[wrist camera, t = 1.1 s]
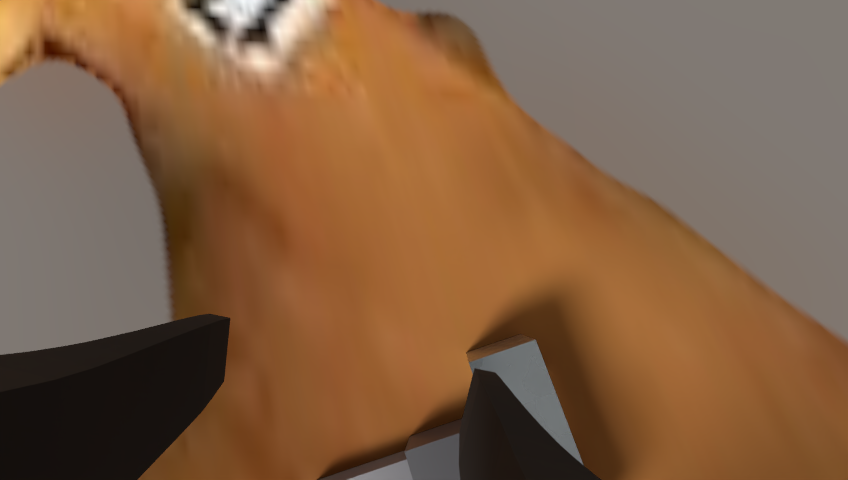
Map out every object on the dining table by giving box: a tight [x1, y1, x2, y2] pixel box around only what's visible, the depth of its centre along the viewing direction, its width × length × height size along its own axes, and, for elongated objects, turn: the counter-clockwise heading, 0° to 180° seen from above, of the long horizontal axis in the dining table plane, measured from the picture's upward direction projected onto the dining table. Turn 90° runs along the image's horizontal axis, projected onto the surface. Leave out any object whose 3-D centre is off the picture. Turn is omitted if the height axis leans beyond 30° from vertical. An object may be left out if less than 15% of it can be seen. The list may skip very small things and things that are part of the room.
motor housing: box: [466, 334, 583, 465], centre depth 23 cm, size 4×12×6 cm, turn 19°
